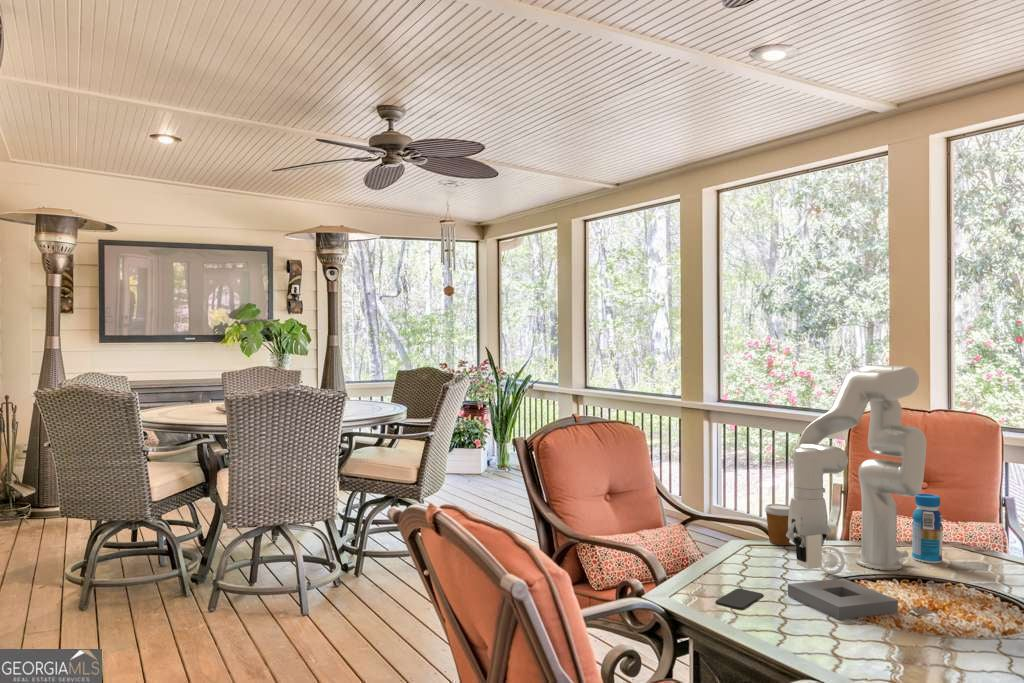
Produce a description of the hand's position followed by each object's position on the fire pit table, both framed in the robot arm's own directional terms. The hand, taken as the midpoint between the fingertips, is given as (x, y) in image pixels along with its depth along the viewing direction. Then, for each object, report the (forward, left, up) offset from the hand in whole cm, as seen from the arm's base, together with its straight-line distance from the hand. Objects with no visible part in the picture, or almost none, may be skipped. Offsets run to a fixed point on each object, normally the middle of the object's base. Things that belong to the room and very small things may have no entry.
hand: (809, 558), depth 203 cm
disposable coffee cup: (-21, -39, -7) cm, 45 cm away
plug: (0, 0, -2) cm, 2 cm away
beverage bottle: (-52, -9, -7) cm, 53 cm away
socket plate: (+4, +16, -7) cm, 18 cm away
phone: (+27, +6, -7) cm, 29 cm away
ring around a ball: (-11, -5, -7) cm, 14 cm away
